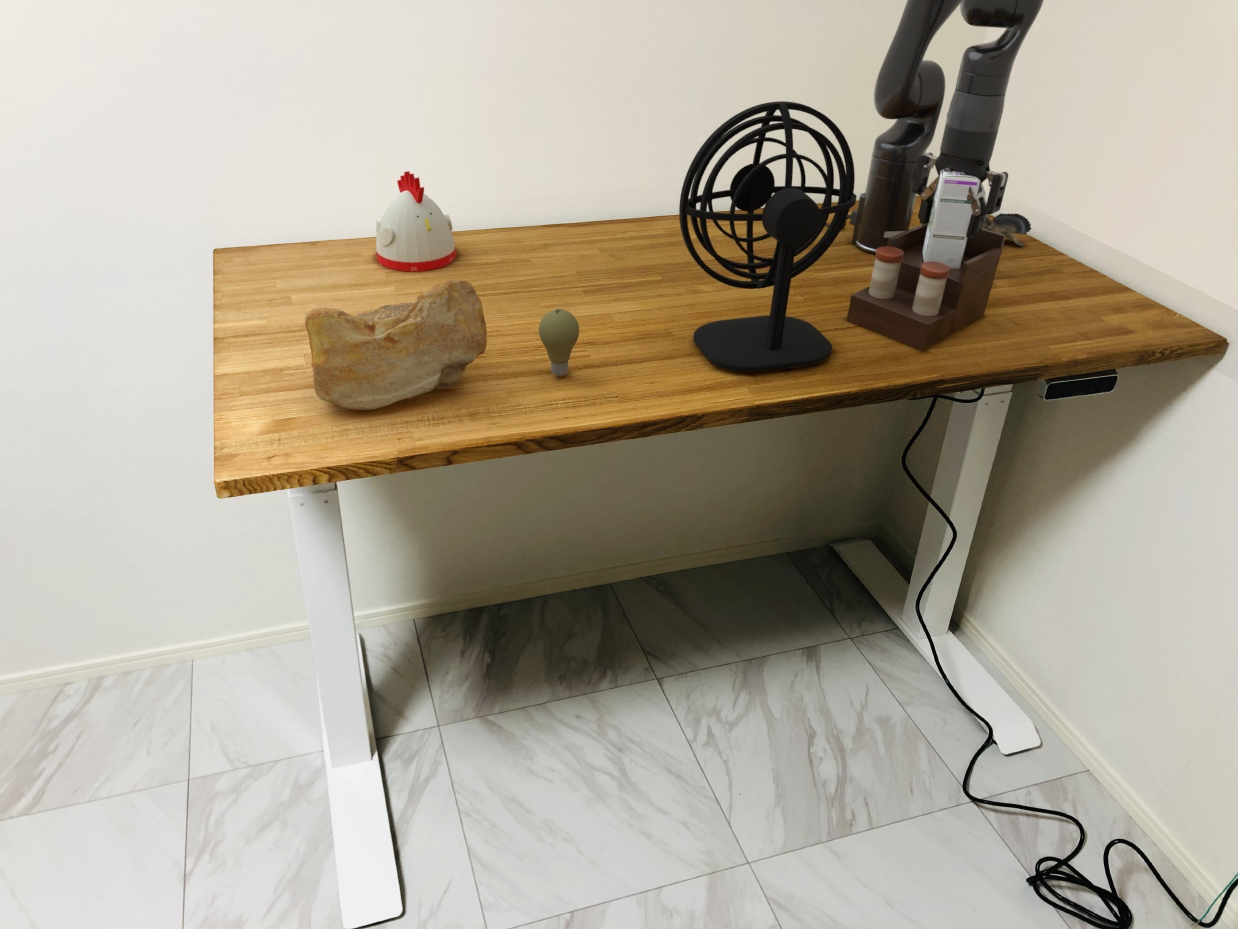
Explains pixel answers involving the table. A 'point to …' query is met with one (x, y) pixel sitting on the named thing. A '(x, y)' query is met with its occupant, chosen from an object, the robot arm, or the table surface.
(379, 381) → the rough brown rock
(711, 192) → the desk fan
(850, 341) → the table surface
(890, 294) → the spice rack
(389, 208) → the kitchen timer
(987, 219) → the squirrel figurine
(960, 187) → the syrup box
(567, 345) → the light bulb
